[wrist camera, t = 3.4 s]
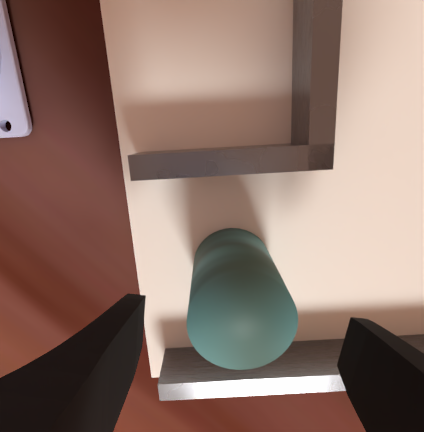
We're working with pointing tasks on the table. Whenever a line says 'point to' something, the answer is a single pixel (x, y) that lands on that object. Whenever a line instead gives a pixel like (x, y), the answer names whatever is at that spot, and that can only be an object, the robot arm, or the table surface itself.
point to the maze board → (274, 134)
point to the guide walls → (258, 164)
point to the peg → (239, 302)
